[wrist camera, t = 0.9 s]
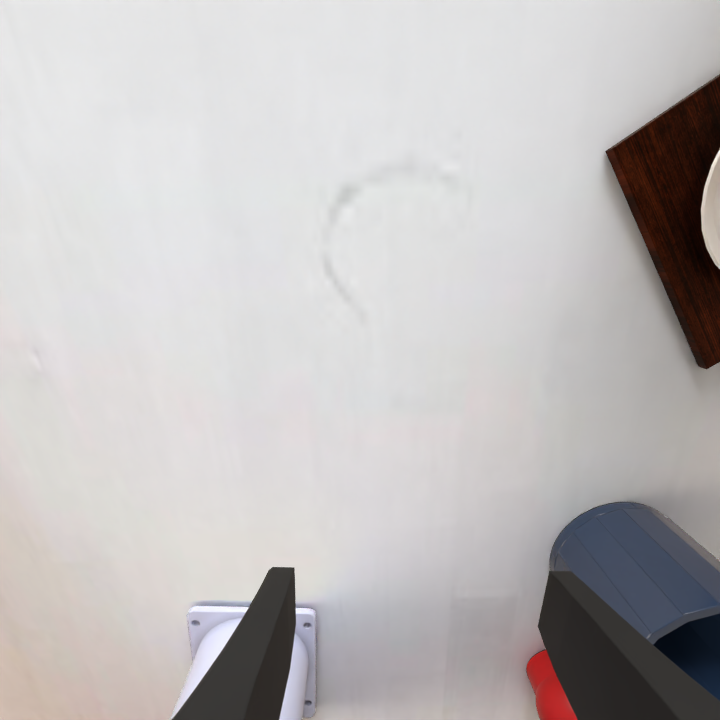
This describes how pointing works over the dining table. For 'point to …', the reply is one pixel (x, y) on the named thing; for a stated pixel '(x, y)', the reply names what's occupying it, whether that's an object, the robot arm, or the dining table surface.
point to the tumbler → (650, 581)
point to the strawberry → (548, 689)
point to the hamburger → (680, 209)
